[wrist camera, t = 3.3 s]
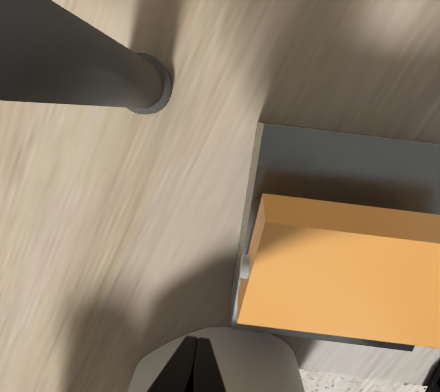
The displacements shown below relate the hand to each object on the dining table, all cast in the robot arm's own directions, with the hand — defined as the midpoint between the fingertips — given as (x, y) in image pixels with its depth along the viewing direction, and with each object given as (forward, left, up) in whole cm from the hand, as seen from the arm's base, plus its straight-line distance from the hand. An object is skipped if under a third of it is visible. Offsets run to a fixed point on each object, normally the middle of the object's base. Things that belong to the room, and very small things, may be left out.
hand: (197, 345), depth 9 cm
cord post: (+5, -9, -8) cm, 13 cm away
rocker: (-7, -2, -3) cm, 8 cm away
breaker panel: (-7, -2, -8) cm, 11 cm away
